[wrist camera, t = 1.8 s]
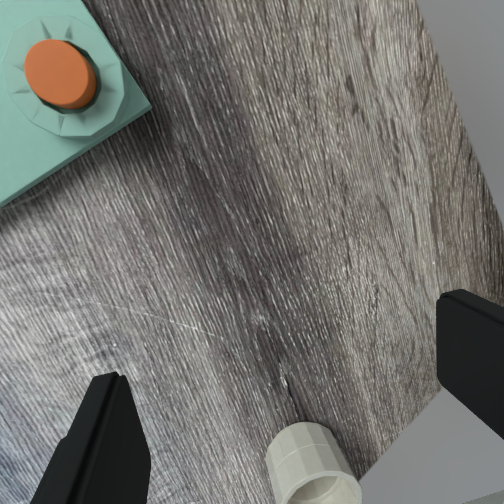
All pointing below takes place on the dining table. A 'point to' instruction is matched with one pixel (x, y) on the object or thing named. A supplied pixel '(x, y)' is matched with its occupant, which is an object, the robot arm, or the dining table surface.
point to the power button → (60, 74)
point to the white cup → (310, 467)
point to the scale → (49, 115)
